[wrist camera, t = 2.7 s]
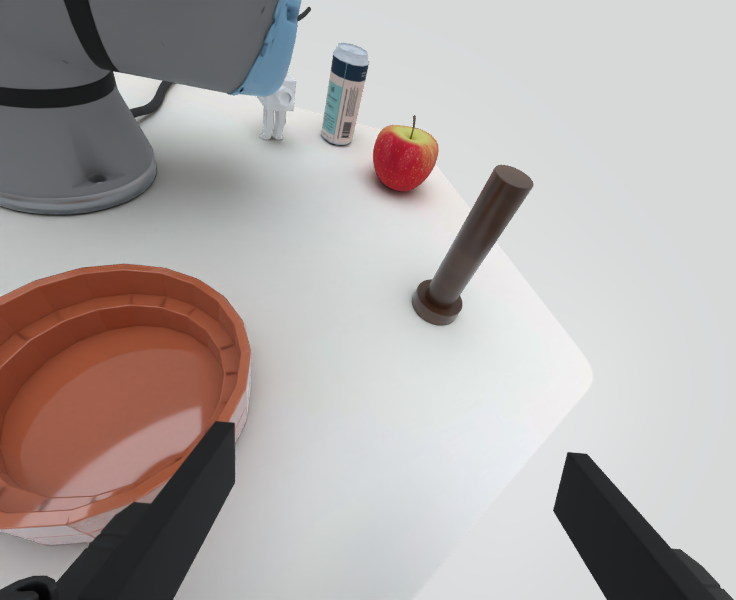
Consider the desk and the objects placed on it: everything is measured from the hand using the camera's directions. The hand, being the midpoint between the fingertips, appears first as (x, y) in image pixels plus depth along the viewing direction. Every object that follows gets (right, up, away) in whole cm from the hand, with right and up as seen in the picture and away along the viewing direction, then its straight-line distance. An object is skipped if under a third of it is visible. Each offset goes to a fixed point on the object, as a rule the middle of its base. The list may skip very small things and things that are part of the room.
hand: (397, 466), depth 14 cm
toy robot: (-14, +29, +36) cm, 48 cm away
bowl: (-17, 0, +9) cm, 19 cm away
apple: (+3, +23, +36) cm, 43 cm away
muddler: (+6, +6, +22) cm, 24 cm away
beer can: (-6, +31, +41) cm, 52 cm away
